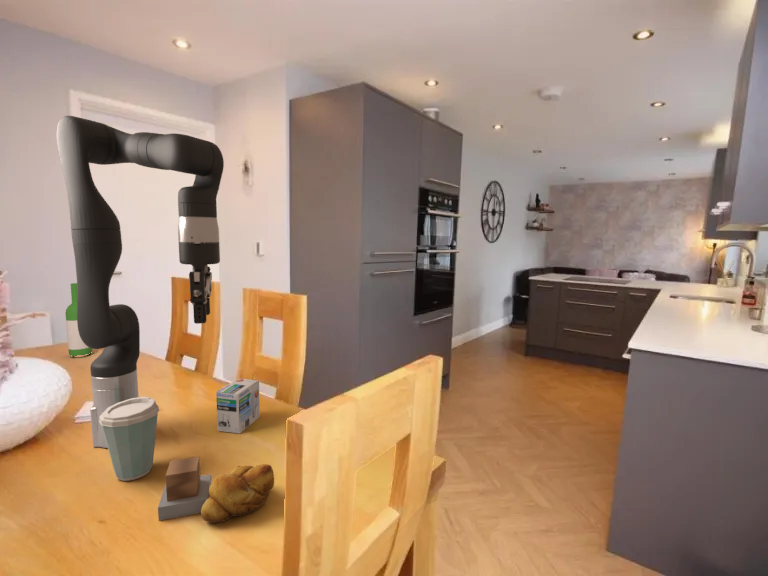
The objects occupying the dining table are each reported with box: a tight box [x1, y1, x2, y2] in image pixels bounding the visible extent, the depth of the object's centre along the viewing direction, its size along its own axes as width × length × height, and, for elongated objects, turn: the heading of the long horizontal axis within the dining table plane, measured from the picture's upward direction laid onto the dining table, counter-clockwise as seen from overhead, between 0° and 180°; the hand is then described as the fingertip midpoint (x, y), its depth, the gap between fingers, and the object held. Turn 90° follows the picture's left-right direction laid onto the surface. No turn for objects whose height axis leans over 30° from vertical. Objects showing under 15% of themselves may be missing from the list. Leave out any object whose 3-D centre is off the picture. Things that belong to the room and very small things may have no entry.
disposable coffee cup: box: [99, 396, 160, 482], centre depth 84 cm, size 11×11×15 cm
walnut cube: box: [165, 456, 201, 501], centre depth 75 cm, size 5×5×5 cm
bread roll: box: [200, 463, 275, 523], centre depth 74 cm, size 13×10×8 cm
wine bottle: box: [65, 282, 93, 356], centre depth 163 cm, size 8×8×30 cm
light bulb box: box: [215, 378, 261, 434], centre depth 107 cm, size 11×7×11 cm, turn 168°
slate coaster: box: [157, 474, 212, 521], centre depth 76 cm, size 8×8×2 cm
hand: (202, 318), depth 83 cm, fingers open, 8 cm apart
